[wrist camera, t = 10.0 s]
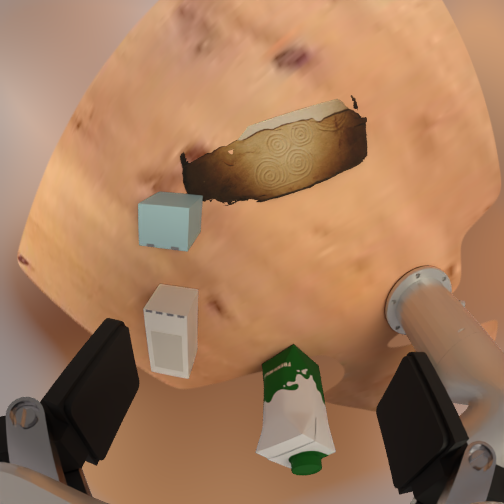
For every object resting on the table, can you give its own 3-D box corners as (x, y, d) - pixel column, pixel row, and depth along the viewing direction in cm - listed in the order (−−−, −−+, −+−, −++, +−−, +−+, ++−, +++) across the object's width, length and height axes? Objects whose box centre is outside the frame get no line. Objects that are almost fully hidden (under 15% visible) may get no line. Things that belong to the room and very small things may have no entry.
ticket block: (198, 289, 42) (186, 316, 35) (197, 349, 46) (188, 379, 40) (159, 283, 42) (143, 309, 35) (163, 343, 47) (151, 371, 40)
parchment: (356, 94, 31) (358, 93, 30) (379, 165, 34) (381, 166, 33) (174, 154, 35) (172, 155, 35) (202, 222, 38) (200, 224, 38)
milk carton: (287, 387, 49) (290, 482, 31) (253, 363, 47) (246, 465, 29) (325, 365, 47) (344, 463, 28) (294, 336, 44) (304, 444, 26)
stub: (202, 195, 37) (189, 208, 30) (200, 231, 39) (187, 251, 32) (159, 191, 37) (137, 203, 30) (158, 227, 39) (138, 245, 32)
